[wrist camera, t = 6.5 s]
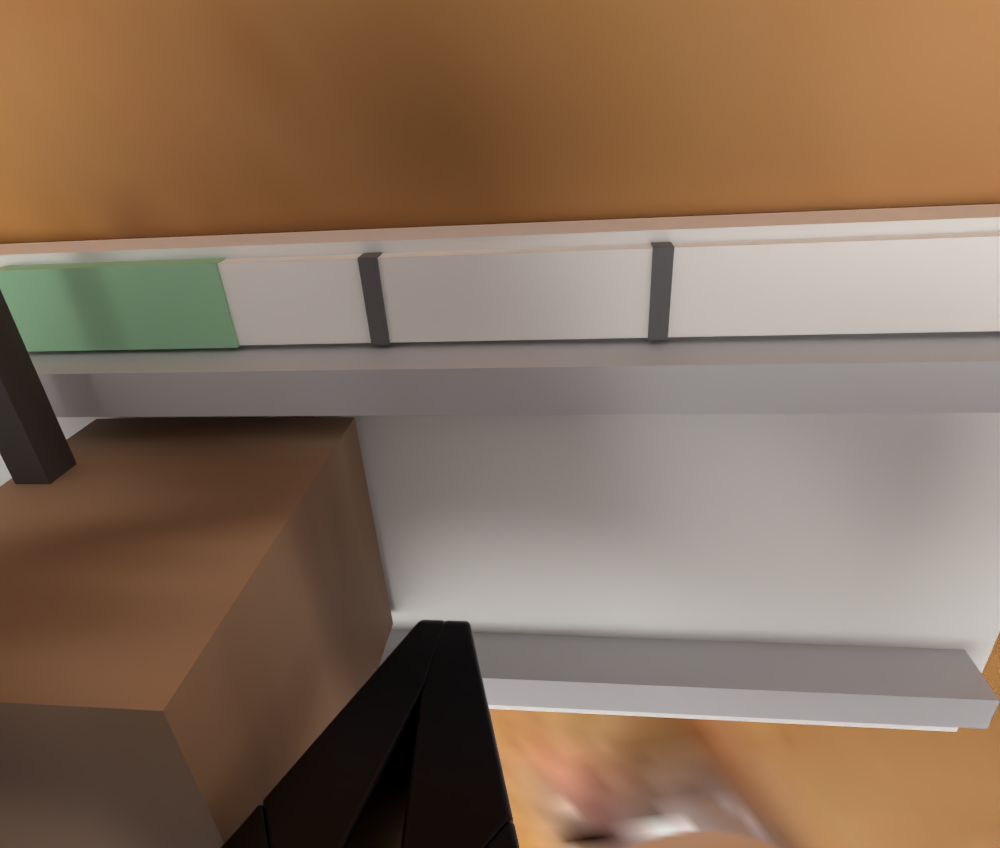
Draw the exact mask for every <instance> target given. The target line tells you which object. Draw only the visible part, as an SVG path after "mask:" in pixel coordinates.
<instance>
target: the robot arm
mask: <svg viewBox="0 0 1000 848" xmlns="http://www.w3.org/2000/svg"><path fill="white" fill-rule="evenodd" d="M221 848H519V844H518V839H517V835H516V830H515V826H514V824H513V817H512V813H511V808H510V804H509V799H508V794H507V790H506V785H505V781H504V776H503V771H502V767H501V762H500V758H499V753H498V749H497V744H496V739H495V735H494V730H493V726H492V721H491V716H490V712H489V707H488V703H487V698H486V693H485V689H484V684H483V680H482V675H481V670H480V666H479V661H478V657H477V652H476V647H475V643H474V638H473V634H472V629H471V625H470V623H469V622H468V621H449V620H448V621H443V620H421V621H419V622H418V623H417V624H416V625H415V626H414V627H413V628H412V630H411V631H410V632H409V633H408V634H407V635H406V637H405V638H404V639H403V640H402V641H401V642H400V643H399V645H398V646H397V647H396V648H395V649H394V650H393V651H392V653H391V654H390V655H389V656H388V657H387V658H386V659H385V661H384V662H383V663H382V664H381V665H380V666H379V667H378V669H377V670H376V671H375V672H374V673H373V674H372V676H371V677H370V678H369V679H368V680H367V681H366V682H365V684H364V685H363V686H362V687H361V688H360V689H359V690H358V692H357V693H356V694H355V695H354V696H353V697H352V698H351V700H350V701H349V702H348V703H347V704H346V705H345V707H344V708H343V709H342V710H341V711H340V712H339V713H338V715H337V716H336V717H335V718H334V719H333V720H332V721H331V723H330V724H329V725H328V726H327V727H326V728H325V729H324V731H323V732H322V733H321V734H320V735H319V736H318V737H317V739H316V740H315V741H314V742H313V743H312V744H311V746H310V747H309V748H308V749H307V750H306V751H305V752H304V754H303V755H302V756H301V757H300V758H299V759H298V760H297V762H296V763H295V764H294V765H293V766H292V767H291V768H290V770H289V771H288V772H287V773H286V774H285V775H284V776H283V778H282V779H281V780H280V781H279V782H278V783H277V785H276V786H275V787H274V788H273V789H272V790H271V791H270V793H269V794H268V795H267V796H266V797H265V798H264V800H263V805H258V806H257V807H256V808H255V809H254V811H253V812H252V813H251V814H250V815H249V816H248V817H247V819H246V820H245V821H244V822H243V823H242V824H241V825H240V827H239V828H238V829H237V830H236V831H235V832H234V833H233V834H232V835H231V837H230V838H229V839H228V840H227V841H226V842H225V843H224V844H223V845H222V846H221Z"/></svg>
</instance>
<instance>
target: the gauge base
mask: <svg viewBox="0 0 1000 848" xmlns="http://www.w3.org/2000/svg"><path fill="white" fill-rule="evenodd" d="M0 289H1V292H2V294H3V296H4V299H5V301H6V303H7V305H8V308H9V310H10V312H11V315H12V317H13V319H14V321H15V324H16V326H17V328H18V331H19V333H20V335H21V338H22V340H23V342H24V344H25V347H26V349H27V351H28V354H29V356H30V358H31V360H32V363H33V365H34V367H35V370H36V372H37V374H38V376H39V379H40V381H41V383H42V386H43V388H44V390H45V392H46V395H47V397H48V399H49V402H50V404H51V406H52V408H53V411H54V413H55V415H56V418H57V420H58V422H59V424H60V427H61V429H62V431H63V434H64V436H65V438H66V440H67V439H68V438H70V437H71V436H73V435H74V434H75V433H77V432H78V431H80V430H81V429H83V428H84V427H85V426H87V425H88V424H90V423H91V422H92V421H94V420H95V419H137V418H354V417H355V422H356V428H357V433H358V439H359V444H360V449H361V455H362V460H363V465H364V471H365V476H366V481H367V487H368V492H369V497H370V503H371V508H372V513H373V519H374V524H375V529H376V535H377V540H378V546H379V551H380V556H381V562H382V567H383V572H384V578H385V583H386V588H387V594H388V599H389V604H390V610H391V615H392V620H393V625H392V628H391V631H390V634H389V637H388V640H387V643H386V646H385V649H384V652H383V655H382V658H381V661H380V664H379V666H380V665H381V664H382V663H383V662H384V661H385V659H386V658H387V657H388V656H389V655H390V654H391V653H392V651H393V650H394V649H395V648H396V647H397V646H398V645H399V643H400V642H401V641H402V640H403V639H404V638H405V637H406V635H407V634H408V633H409V632H410V631H411V630H412V628H413V627H414V626H415V625H416V624H417V623H418V622H419V621H421V620H443V621H448V620H449V621H468V622H469V623H470V625H471V629H472V634H473V638H474V643H475V647H476V652H477V657H478V661H479V666H480V670H481V675H482V680H483V684H484V689H485V693H486V698H487V703H488V707H489V709H504V710H524V711H544V712H564V713H585V714H605V715H625V716H645V717H666V718H686V719H706V720H726V721H746V722H767V723H787V724H807V725H827V726H848V727H868V728H888V729H908V730H929V731H949V732H957V730H958V728H977V729H987V728H988V726H989V724H990V721H991V719H992V717H993V715H994V713H995V711H996V709H997V706H998V704H999V702H1000V700H999V698H998V697H997V695H996V694H995V693H994V691H993V690H992V688H991V687H990V685H989V684H988V682H987V681H986V680H985V678H984V677H983V675H982V672H983V669H984V667H985V665H986V663H987V660H988V658H989V656H990V653H991V651H992V649H993V646H994V644H995V642H996V639H997V637H998V635H999V632H1000V204H979V205H954V206H930V207H905V208H880V209H855V210H830V211H805V212H781V213H756V214H731V215H706V216H681V217H656V218H632V219H607V220H582V221H557V222H532V223H508V224H483V225H458V226H433V227H408V228H383V229H359V230H334V231H309V232H284V233H259V234H234V235H210V236H185V237H160V238H135V239H110V240H86V241H61V242H36V243H11V244H0ZM11 478H12V477H11V475H10V473H9V471H8V469H7V467H6V465H5V463H4V461H3V459H2V457H1V455H0V486H1V485H3V484H4V483H6V482H7V481H9V480H10V479H11Z"/></svg>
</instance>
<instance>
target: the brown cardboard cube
mask: <svg viewBox="0 0 1000 848" xmlns="http://www.w3.org/2000/svg"><path fill="white" fill-rule="evenodd" d="M0 455H1V457H2V459H3V461H4V463H5V465H6V467H7V469H8V471H9V473H10V475H11V477H12V478H11V479H10V480H9V481H7V482H6V483H4V484H3V485H1V486H0V848H221V846H222V845H223V844H224V843H225V842H226V841H227V840H228V839H229V838H230V837H231V835H232V834H233V833H234V832H235V831H236V830H237V829H238V828H239V827H240V825H241V824H242V823H243V822H244V821H245V820H246V819H247V817H248V816H249V815H250V814H251V813H252V812H253V811H254V809H255V808H256V807H257V806H258V805H263V800H264V798H265V797H266V796H267V795H268V794H269V793H270V791H271V790H272V789H273V788H274V787H275V786H276V785H277V783H278V782H279V781H280V780H281V779H282V778H283V776H284V775H285V774H286V773H287V772H288V771H289V770H290V768H291V767H292V766H293V765H294V764H295V763H296V762H297V760H298V759H299V758H300V757H301V756H302V755H303V754H304V752H305V751H306V750H307V749H308V748H309V747H310V746H311V744H312V743H313V742H314V741H315V740H316V739H317V737H318V736H319V735H320V734H321V733H322V732H323V731H324V729H325V728H326V727H327V726H328V725H329V724H330V723H331V721H332V720H333V719H334V718H335V717H336V716H337V715H338V713H339V712H340V711H341V710H342V709H343V708H344V707H345V705H346V704H347V703H348V702H349V701H350V700H351V698H352V697H353V696H354V695H355V694H356V693H357V692H358V690H359V689H360V688H361V687H362V686H363V685H364V684H365V682H366V681H367V680H368V679H369V678H370V677H371V676H372V674H373V673H374V672H375V671H376V670H377V669H378V667H379V664H380V661H381V658H382V655H383V652H384V649H385V646H386V643H387V640H388V637H389V634H390V631H391V628H392V625H393V620H392V615H391V610H390V604H389V599H388V594H387V588H386V583H385V578H384V572H383V567H382V562H381V556H380V551H379V546H378V540H377V535H376V529H375V524H374V519H373V513H372V508H371V503H370V497H369V492H368V487H367V481H366V476H365V471H364V465H363V460H362V455H361V449H360V444H359V439H358V433H357V428H356V422H355V417H354V418H137V419H95V420H94V421H92V422H91V423H90V424H88V425H87V426H85V427H84V428H83V429H81V430H80V431H78V432H77V433H75V434H74V435H73V436H71V437H70V438H68V439H67V440H66V438H65V436H64V434H63V431H62V429H61V427H60V424H59V422H58V420H57V418H56V415H55V413H54V411H53V408H52V406H51V404H50V402H49V399H48V397H47V395H46V392H45V390H44V388H43V386H42V383H41V381H40V379H39V376H38V374H37V372H36V370H35V367H34V365H33V363H32V360H31V358H30V356H29V354H28V351H27V349H26V347H25V344H24V342H23V340H22V338H21V335H20V333H19V331H18V328H17V326H16V324H15V321H14V319H13V317H12V315H11V312H10V310H9V308H8V305H7V303H6V301H5V299H4V296H3V294H2V292H1V289H0Z"/></svg>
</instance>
